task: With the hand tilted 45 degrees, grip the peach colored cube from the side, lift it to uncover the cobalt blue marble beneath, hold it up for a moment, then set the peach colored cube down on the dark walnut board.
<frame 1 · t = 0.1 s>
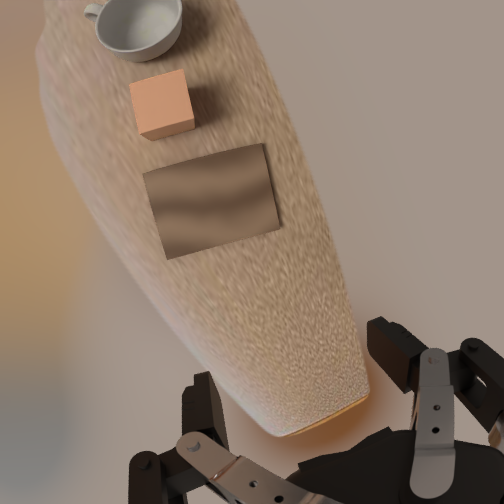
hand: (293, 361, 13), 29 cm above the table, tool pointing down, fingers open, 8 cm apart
teacup: (137, 34, 31), on the table
board: (212, 200, 39), on the table
peach colored cube: (168, 114, 35), on the table
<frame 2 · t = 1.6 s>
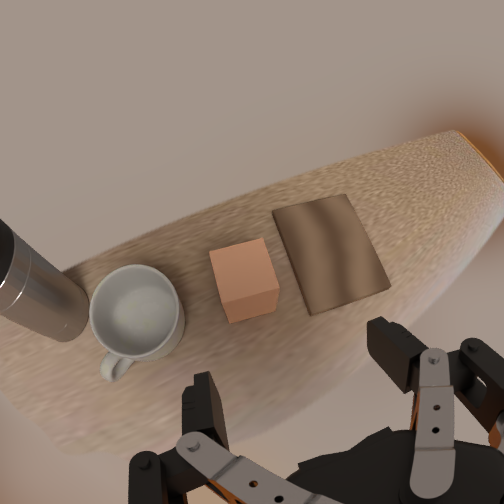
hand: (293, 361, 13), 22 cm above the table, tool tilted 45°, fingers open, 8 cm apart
teacup: (147, 336, 36), on the table
board: (330, 250, 41), on the table
peach colored cube: (246, 296, 38), on the table
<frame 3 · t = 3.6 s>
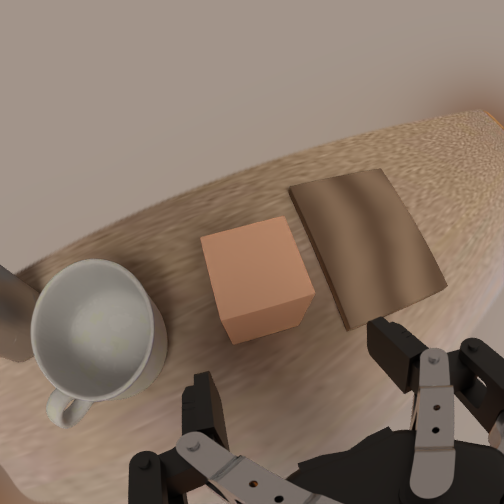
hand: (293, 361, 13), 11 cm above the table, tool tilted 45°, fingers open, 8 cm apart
teacup: (118, 360, 24), on the table
board: (367, 240, 29), on the table
peach colored cube: (256, 304, 27), on the table
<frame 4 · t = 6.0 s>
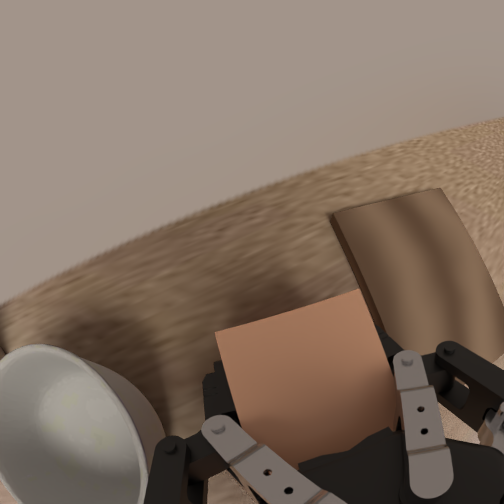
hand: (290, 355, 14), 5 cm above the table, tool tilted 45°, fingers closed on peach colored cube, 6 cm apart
teacup: (104, 452, 15), on the table
board: (432, 288, 20), on the table
peach colored cube: (291, 389, 17), on the table, touching gripper
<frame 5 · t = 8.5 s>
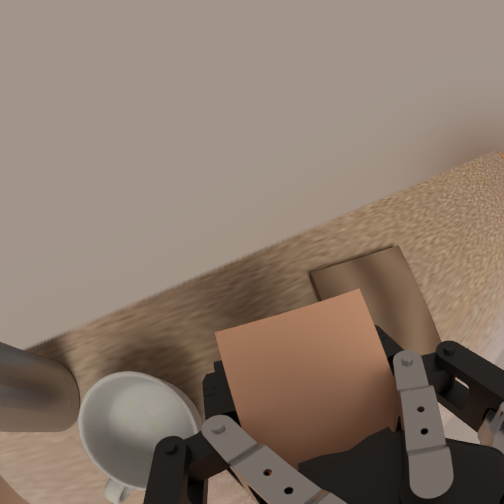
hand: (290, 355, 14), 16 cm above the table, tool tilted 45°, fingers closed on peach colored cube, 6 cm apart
teacup: (155, 437, 25), on the table
board: (381, 324, 30), on the table
peach colored cube: (291, 389, 17), point 11 cm above the table, touching gripper
when the fingers open (7 cm above the table, at t = 11.4 s): peach colored cube drops 1 cm, resting on board.
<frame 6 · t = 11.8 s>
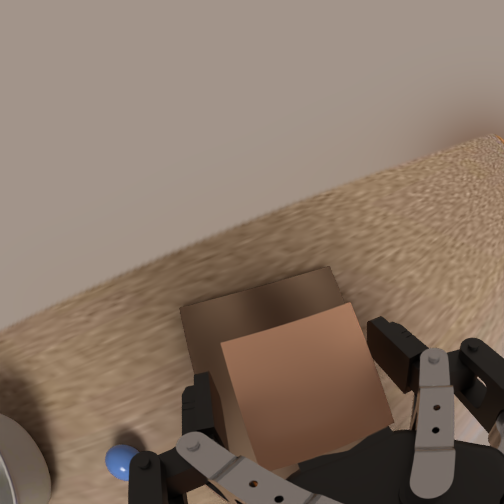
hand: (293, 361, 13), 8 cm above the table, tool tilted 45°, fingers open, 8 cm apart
teacup: (23, 473, 15), on the table
marble: (125, 462, 16), on the table
board: (287, 390, 20), on the table
peach colored cube: (290, 391, 19), point 1 cm above the table, touching board
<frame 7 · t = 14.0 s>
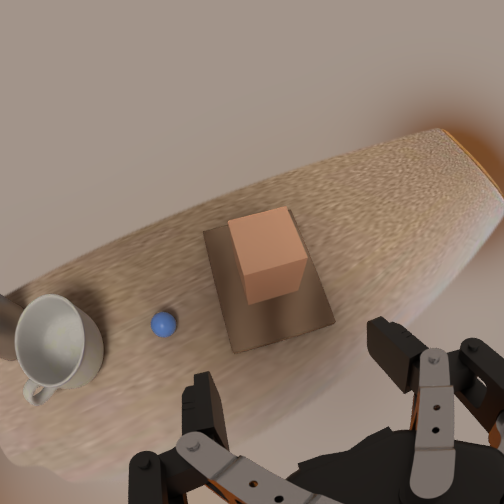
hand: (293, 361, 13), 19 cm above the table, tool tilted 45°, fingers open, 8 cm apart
teacup: (75, 362, 32), on the table
marble: (163, 324, 33), on the table
board: (265, 278, 36), on the table
peach colored cube: (265, 274, 35), point 1 cm above the table, touching board
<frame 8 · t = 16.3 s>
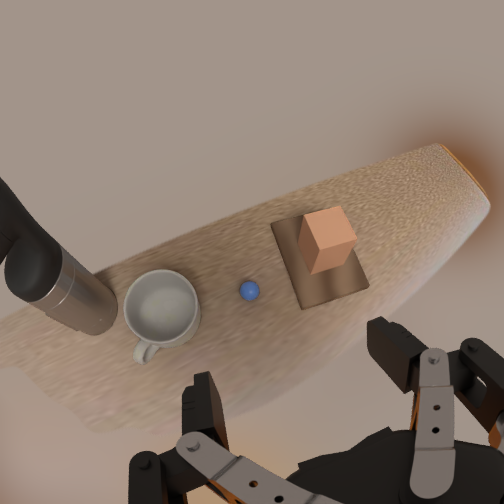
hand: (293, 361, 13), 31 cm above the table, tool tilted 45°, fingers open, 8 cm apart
teacup: (168, 328, 45), on the table
marble: (249, 290, 46), on the table
board: (318, 256, 50), on the table
peach colored cube: (320, 253, 49), point 1 cm above the table, touching board
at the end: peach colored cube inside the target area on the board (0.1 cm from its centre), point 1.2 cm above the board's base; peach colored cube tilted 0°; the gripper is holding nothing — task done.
